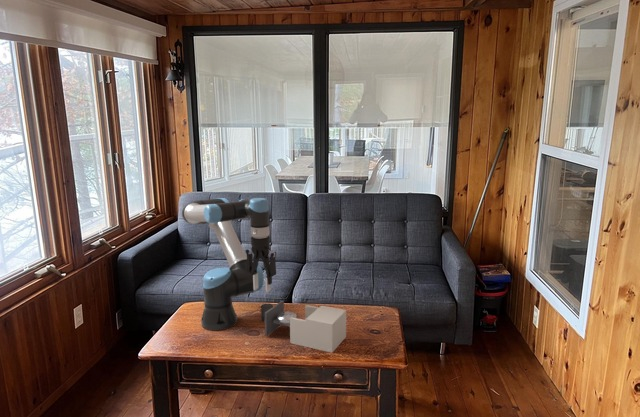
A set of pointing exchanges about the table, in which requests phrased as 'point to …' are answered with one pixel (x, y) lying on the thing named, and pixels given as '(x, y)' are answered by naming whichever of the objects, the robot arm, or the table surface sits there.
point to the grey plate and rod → (273, 318)
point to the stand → (265, 310)
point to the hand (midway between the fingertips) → (262, 290)
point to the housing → (319, 328)
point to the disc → (285, 317)
